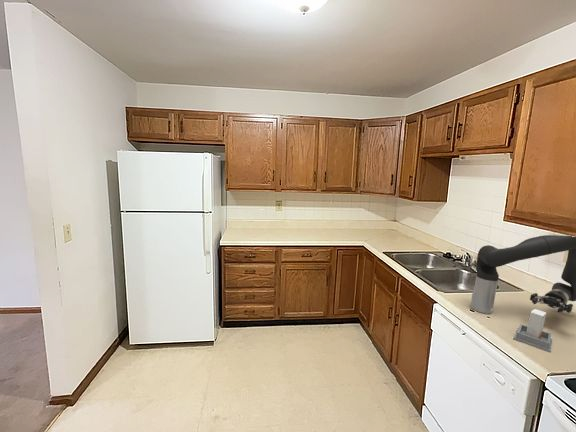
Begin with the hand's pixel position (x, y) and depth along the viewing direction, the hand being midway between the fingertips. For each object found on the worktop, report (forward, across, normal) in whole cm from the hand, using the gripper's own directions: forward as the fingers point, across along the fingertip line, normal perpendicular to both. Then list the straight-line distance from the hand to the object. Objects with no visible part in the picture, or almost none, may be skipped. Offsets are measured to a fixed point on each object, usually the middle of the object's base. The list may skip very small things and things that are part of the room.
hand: (546, 306), depth 132 cm
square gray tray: (+11, 0, +13) cm, 17 cm away
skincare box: (+11, 0, +12) cm, 16 cm away
